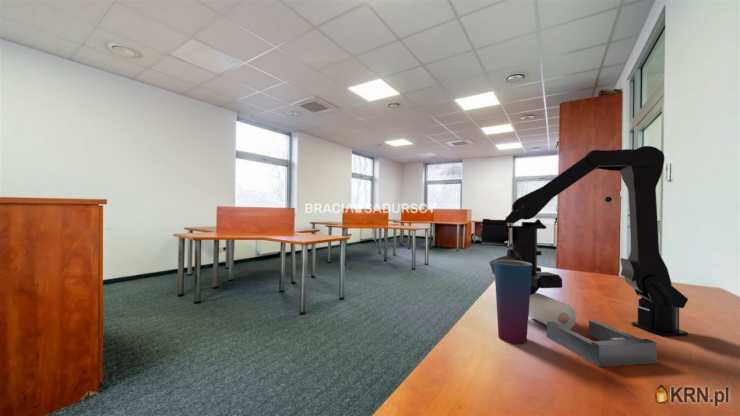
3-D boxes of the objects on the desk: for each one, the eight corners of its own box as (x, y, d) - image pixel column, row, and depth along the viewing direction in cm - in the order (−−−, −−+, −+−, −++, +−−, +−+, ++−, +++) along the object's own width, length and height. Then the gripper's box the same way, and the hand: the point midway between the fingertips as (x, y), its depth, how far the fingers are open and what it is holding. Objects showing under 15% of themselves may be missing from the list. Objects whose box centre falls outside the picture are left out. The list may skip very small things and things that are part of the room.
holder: (594, 334, 59) (594, 317, 59) (656, 363, 48) (656, 341, 48) (547, 336, 58) (547, 318, 58) (599, 366, 47) (599, 344, 47)
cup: (537, 348, 53) (537, 266, 53) (497, 344, 54) (498, 264, 55) (525, 333, 60) (525, 260, 60) (490, 330, 61) (490, 259, 61)
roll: (524, 318, 68) (524, 293, 68) (547, 317, 69) (547, 292, 69) (550, 333, 60) (550, 304, 60) (576, 331, 61) (576, 303, 61)
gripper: (476, 242, 82) (476, 297, 81) (518, 251, 63) (518, 322, 63) (512, 242, 83) (512, 296, 83) (564, 250, 65) (564, 320, 64)
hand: (524, 307), depth 73 cm, fingers closed
